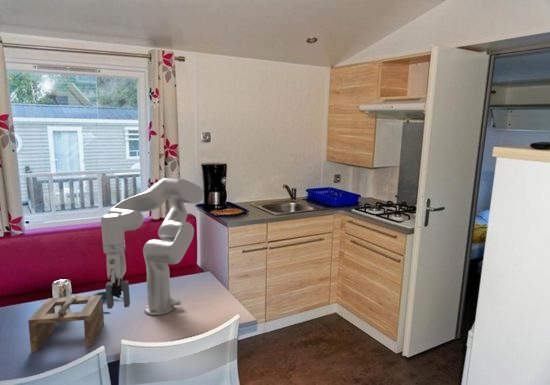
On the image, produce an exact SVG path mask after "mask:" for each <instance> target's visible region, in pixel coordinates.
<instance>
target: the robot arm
mask: <svg viewBox="0 0 550 385" xmlns="http://www.w3.org/2000/svg"><path fill="white" fill-rule="evenodd" d="M204 197H205V195H204V191H203V188H202V187H201V186H200V185H199V184H196V183H194V182H191V181H189V180H187V179H185V178H179V177H178V178H177V177H163V178H161V179H160V180H159V181H156V183H154V184H153V185H152V186H151V187H150V188H148V189H146V190H145V191H144V192H142V193H138V194H136V195H133V196H131V197H128V198H126V199H123V200H121V201H120V202H118V203H117V204H115V205H114V206H113V207H112V208H110V210H109V211H108V213H106V214H104V215H102V216H101V219H100V226H101V237H102V249H103V253H104V254H106V259H105V260H106V272H107V279H108V280H110V282H111V287H112V296H113V297H115V296H122V292H123V290H121V285H120V281H124V280H123V277H124V275H125V274H126V272H127V264H126V256H125V251H126V240H125V232H128V231H135V230H137V229H139V228H141V227H142V226H143V224H144V221H145V218H144V214H143V213H144V212H150V211H154V210H157V209H159V208H160V206H162V205H163V204H164V203H165V202H166V201H168V200H169V211H168V213H167V214H166V216H165V218H164V220H163V221H162V223H161V225H160V226H159V228H158V232H157V235H158V238H157V239H156V238H154V239H152V238H151V239H149V240H147V241H146V243H144V246H143V248H142V251H143V252H142V253H143V258H144V262H145V266H146V267H145V268H146V288H147V289H146V290H147V304H146V305H145V306H144V313H145V314H147V315H150V316H162V315H166V314H168V313H170V312H172V311H173V310H174V309H175V306H180V305H182V302H181V300H179V298H172V295H171V279H170V268H169V265H177V264H179V263H180V262H181V261H182V259H183V258H184V256H185V254H186V252H187V250H188V248H189V247H190V245H191V243H192V241H193V238H194V234H195V228H194V226H193V224H191V223H190V222H189V221H187V218H188V212H187V209H186V206H185V204H193V205H196V204H199V203H201V202H202V200H203V199H204ZM142 212H143V213H142ZM159 238H160V239H159ZM117 281H118V282H117Z"/></svg>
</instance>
